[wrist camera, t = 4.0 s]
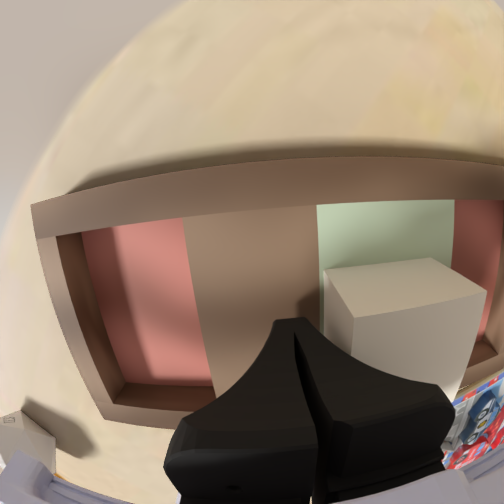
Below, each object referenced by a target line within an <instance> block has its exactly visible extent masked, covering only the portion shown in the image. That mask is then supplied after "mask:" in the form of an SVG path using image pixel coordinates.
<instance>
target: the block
mask: <svg viewBox="0 0 504 504" xmlns="http://www.w3.org/2000/svg"><path fill="white" fill-rule="evenodd" d="M486 295H487V291H486V290H485V289H483V288H482V287H480V286H479V285H477V284H475V283H474V282H472V281H470V280H469V279H467V278H465V277H464V276H462V275H460V274H459V273H457V272H455V271H454V270H452V269H450V268H448V267H447V266H445V265H443V264H441V263H440V262H438V261H436V260H434V259H433V258H431V257H429V258H421V259H413V260H405V261H396V262H388V263H379V264H370V265H361V266H352V267H342V268H333V269H324V336H325V337H326V338H327V339H328V340H330V341H331V342H332V343H333V344H334V345H336V346H337V347H338V348H340V349H341V350H343V351H344V352H346V353H347V354H349V355H350V356H352V357H354V358H356V359H357V360H359V361H361V362H363V363H365V364H367V365H369V366H371V367H374V368H376V369H378V370H381V371H383V372H386V373H389V374H392V375H395V376H398V377H402V378H405V379H409V380H414V381H419V382H425V383H431V384H437V385H438V386H439V387H440V388H441V389H442V390H443V392H444V393H445V394H446V396H447V397H448V399H449V400H450V402H451V403H452V402H453V401H454V398H455V396H456V394H457V391H458V389H459V386H460V384H461V381H462V379H463V376H464V373H465V370H466V368H467V365H468V362H469V359H470V356H471V353H472V350H473V347H474V343H475V340H476V336H477V333H478V329H479V325H480V321H481V317H482V313H483V309H484V304H485V300H486Z"/></svg>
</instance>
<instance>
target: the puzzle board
mask: <svg viewBox="0 0 504 504" xmlns="http://www.w3.org/2000/svg"><path fill="white" fill-rule="evenodd" d="M452 405H453V406H454V408H455V410H456V417H455V420H454V422H453V425H452V427H451V429H450V431H449V433H448V435H447V436H446V438H445V440H444V442H443V443H442V445H441V449H442V451H443V453H444V455H445V457H444V459H443V460H442V463H443V465H444V467H445V469H446V470H448V469H456V470H457V469H459V468H461V467H463V466H465V465H467V464H469V463H471V462H473V461H475V460H476V459H478V458H480V457H482V456H483V455H485V454H487V453H488V452H490V451H492V450H493V449H495V448H496V447H498V446H500V445H501V444H503V443H504V368H503V369H502V370H500V371H498V372H496V373H494V374H492V375H490V376H487V377H485V378H483V379H481V380H479V381H477V382H474V383H473V384H471V385H469V386H467V387H465V388H464V389H462V390H460V391H458V392H457V394H456V396H455V398H454V401H453V402H452Z"/></svg>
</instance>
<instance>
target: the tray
mask: <svg viewBox="0 0 504 504" xmlns="http://www.w3.org/2000/svg"><path fill="white" fill-rule="evenodd" d="M31 213H32V219H33V225H34V231H35V236H36V241H37V246H38V251H39V255H40V260H41V264H42V268H43V272H44V276H45V279H46V283H47V287H48V290H49V293H50V297H51V300H52V303H53V306H54V309H55V312H56V315H57V318H58V321H59V324H60V327H61V329H62V332H63V335H64V337H65V340H66V342H67V345H68V347H69V350H70V352H71V354H72V357H73V359H74V361H75V364H76V366H77V368H78V370H79V372H80V374H81V377H82V379H83V381H84V383H85V385H86V387H87V389H88V391H89V393H90V395H91V396H92V398H93V400H94V402H95V404H96V406H97V408H98V409H99V411H100V413H101V415H102V416H103V418H104V419H105V420H110V421H115V422H121V423H126V424H133V425H139V426H147V427H155V428H164V429H174V430H176V428H177V426H178V424H179V422H180V421H181V419H182V418H183V417H185V416H188V415H189V414H191V413H193V412H195V411H197V410H199V409H201V408H202V407H204V406H206V405H208V404H209V403H211V402H212V401H214V400H215V399H217V398H218V397H219V396H221V395H222V394H223V393H225V392H226V391H227V390H228V389H229V388H230V387H232V386H233V385H234V384H235V383H236V382H237V381H238V380H239V379H240V378H241V377H242V376H243V374H244V373H245V372H246V371H247V370H248V369H249V367H250V366H251V365H252V363H253V362H254V361H255V359H256V358H257V356H258V355H259V353H260V351H261V350H262V348H263V346H264V344H265V342H266V340H267V338H268V336H269V334H270V332H271V329H272V325H273V322H274V321H275V320H276V319H287V318H297V317H305V318H306V319H308V320H309V322H310V323H311V324H312V325H313V326H314V327H315V328H316V329H317V330H318V331H319V332H321V333H322V334H323V335H324V269H333V268H342V267H352V266H361V265H370V264H379V263H388V262H396V261H405V260H413V259H421V258H429V257H431V258H433V259H434V260H436V261H438V262H440V263H441V264H443V265H445V266H447V267H448V268H450V269H452V270H454V271H455V272H457V273H459V274H460V275H462V276H464V277H465V278H467V279H469V280H470V281H472V282H474V283H475V284H477V285H479V286H480V287H482V288H483V289H485V290H486V291H487V295H486V300H485V304H484V309H483V313H482V317H481V321H480V325H479V329H478V333H477V336H476V340H475V343H474V347H473V350H472V353H471V356H470V359H469V362H468V365H467V368H466V370H465V373H464V376H463V379H462V381H461V384H460V386H459V389H460V388H462V387H465V386H467V385H470V384H472V383H474V382H477V381H479V380H481V379H483V378H485V377H487V376H490V375H492V374H494V373H496V372H498V371H500V370H502V369H503V368H504V166H501V165H494V164H486V163H478V162H469V161H459V160H448V159H434V158H416V157H386V156H345V157H313V158H295V159H280V160H267V161H256V162H245V163H236V164H227V165H218V166H211V167H203V168H196V169H189V170H182V171H176V172H170V173H164V174H158V175H152V176H147V177H142V178H136V179H131V180H126V181H121V182H117V183H112V184H108V185H103V186H99V187H94V188H90V189H86V190H82V191H78V192H74V193H70V194H66V195H63V196H59V197H55V198H52V199H48V200H45V201H41V202H38V203H35V204H31Z"/></svg>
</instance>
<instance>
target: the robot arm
mask: <svg viewBox="0 0 504 504" xmlns="http://www.w3.org/2000/svg"><path fill="white" fill-rule="evenodd" d="M455 417H456V410H455V408H454V406H453V405H452V403H451V402H450V400H449V399H448V397H447V396H446V394H445V393H444V392H443V390H442V389H441V388H440V387H439V386H438V385H437V384H431V383H425V382H419V381H414V380H409V379H405V378H402V377H398V376H395V375H392V374H389V373H386V372H383V371H381V370H378V369H376V368H374V367H371V366H369V365H367V364H365V363H363V362H361V361H359V360H357V359H356V358H354V357H352V356H350V355H349V354H347V353H346V352H344V351H343V350H341V349H340V348H338V347H337V346H336V345H334V344H333V343H332V342H331V341H330V340H328V339H327V338H326V337H325V336H324V335H323V334H322V333H321V332H319V331H318V330H317V329H316V328H315V327H314V326H313V325H312V324H311V323H310V322H309V320H308V319H306V318H305V317H297V318H287V319H276V320H275V321H274V322H273V325H272V329H271V332H270V334H269V336H268V338H267V340H266V342H265V344H264V346H263V348H262V350H261V351H260V353H259V355H258V356H257V358H256V359H255V361H254V362H253V363H252V365H251V366H250V367H249V369H248V370H247V371H246V372H245V373H244V374H243V376H242V377H241V378H240V379H239V380H238V381H237V382H236V383H235V384H234V385H233V386H232V387H230V388H229V389H228V390H227V391H226V392H225V393H223V394H222V395H221V396H219V397H218V398H217V399H215V400H214V401H212V402H211V403H209V404H208V405H206V406H204V407H202V408H201V409H199V410H197V411H195V412H193V413H191V414H189V415H188V416H185V417H183V418H182V419H181V421H180V422H179V424H178V426H177V428H176V430H175V432H174V434H173V436H172V438H171V441H170V444H169V447H168V450H167V454H166V457H165V461H164V466H163V468H164V470H165V473H166V475H167V476H168V478H169V479H170V481H171V482H172V484H173V485H174V486H175V488H176V489H177V490H178V495H177V499H176V504H309V503H310V497H311V496H312V504H504V443H503V444H501V445H500V446H498V447H496V448H495V449H493V450H492V451H490V452H488V453H487V454H485V455H483V456H482V457H480V458H478V459H476V460H475V461H473V462H471V463H469V464H467V465H465V466H463V467H461V468H459V469H457V470H456V469H448V470H446V469H445V467H444V465H443V463H442V460H443V459H444V457H445V455H444V453H443V451H442V449H441V445H442V443H443V442H444V440H445V438H446V436H447V435H448V433H449V431H450V429H451V427H452V425H453V422H454V420H455ZM0 503H1V504H133V503H129V502H126V501H122V500H118V499H115V498H112V497H108V496H105V495H102V494H99V493H96V492H93V491H90V490H88V489H85V488H82V487H80V486H77V485H75V484H72V483H70V482H67V481H65V480H63V479H60V478H58V477H56V476H54V475H53V473H52V472H51V471H50V470H49V469H48V468H47V467H46V466H45V465H44V464H43V463H42V462H40V461H39V460H37V459H36V458H34V457H32V456H30V455H28V454H26V453H24V452H22V451H20V450H17V451H16V452H15V453H14V455H13V456H12V458H11V459H10V461H9V462H8V464H7V465H6V467H5V468H4V470H3V471H2V473H1V474H0Z"/></svg>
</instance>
